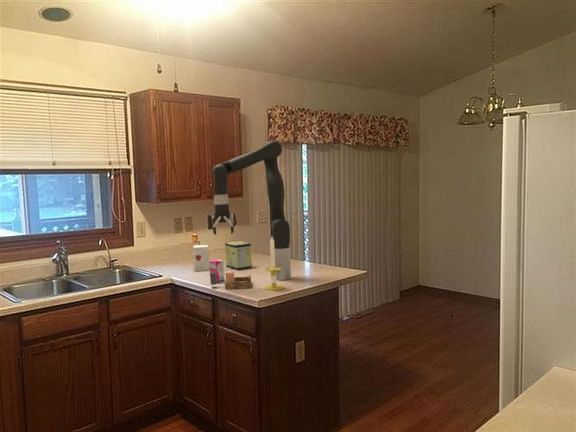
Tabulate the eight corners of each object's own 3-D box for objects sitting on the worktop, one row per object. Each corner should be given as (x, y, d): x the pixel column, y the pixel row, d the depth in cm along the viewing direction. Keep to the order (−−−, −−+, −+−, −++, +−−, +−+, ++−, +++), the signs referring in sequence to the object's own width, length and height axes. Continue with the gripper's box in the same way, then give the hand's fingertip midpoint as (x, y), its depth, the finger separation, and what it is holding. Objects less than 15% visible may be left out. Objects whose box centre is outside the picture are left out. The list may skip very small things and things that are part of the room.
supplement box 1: (194, 271, 305) (193, 247, 303) (194, 268, 313) (192, 245, 312) (209, 270, 306) (208, 246, 305) (208, 267, 315) (207, 244, 314)
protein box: (240, 264, 321) (239, 240, 320) (252, 268, 308) (251, 243, 307) (225, 267, 315) (224, 242, 314) (237, 270, 302) (236, 245, 301)
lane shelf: (251, 282, 267) (250, 274, 267) (250, 288, 255) (250, 279, 255) (227, 284, 267) (226, 275, 266) (225, 289, 255) (224, 280, 254)
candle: (287, 287, 253) (285, 235, 250) (271, 291, 247) (268, 237, 245) (276, 284, 261) (274, 233, 258) (260, 287, 255) (258, 235, 253)
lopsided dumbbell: (234, 282, 263) (233, 270, 263) (233, 284, 258) (233, 272, 258) (211, 283, 263) (211, 271, 262) (210, 285, 258) (210, 273, 257)
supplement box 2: (217, 279, 280) (216, 259, 279) (224, 280, 276) (223, 260, 275) (209, 281, 275) (208, 260, 274) (217, 282, 271) (216, 261, 270)
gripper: (235, 202, 264) (237, 232, 265) (208, 203, 263) (210, 234, 265) (234, 202, 256) (236, 234, 258) (207, 204, 256) (209, 235, 257)
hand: (223, 234), depth 261 cm, fingers open, 8 cm apart
